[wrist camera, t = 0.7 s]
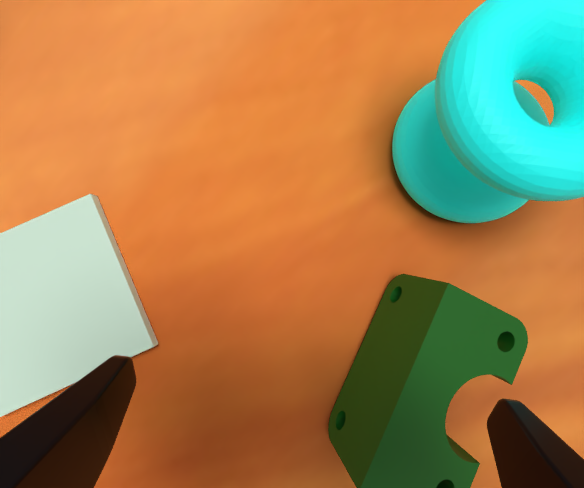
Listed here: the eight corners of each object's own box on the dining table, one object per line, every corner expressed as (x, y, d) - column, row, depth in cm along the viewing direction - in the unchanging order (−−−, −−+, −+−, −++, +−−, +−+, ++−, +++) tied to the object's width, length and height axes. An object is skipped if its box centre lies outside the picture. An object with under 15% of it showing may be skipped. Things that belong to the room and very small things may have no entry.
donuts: (437, 170, 14) (469, -58, 15) (377, 213, 24) (397, 75, 25) (688, 212, 14) (707, -22, 14) (521, 237, 24) (538, 98, 24)
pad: (158, 344, 23) (153, 346, 22) (4, 414, 23) (-6, 419, 22) (97, 196, 24) (90, 193, 23) (-53, 262, 24) (-65, 261, 23)
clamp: (386, 405, 27) (434, 542, 19) (320, 378, 26) (340, 512, 17) (487, 285, 23) (605, 389, 15) (415, 247, 22) (499, 337, 14)
